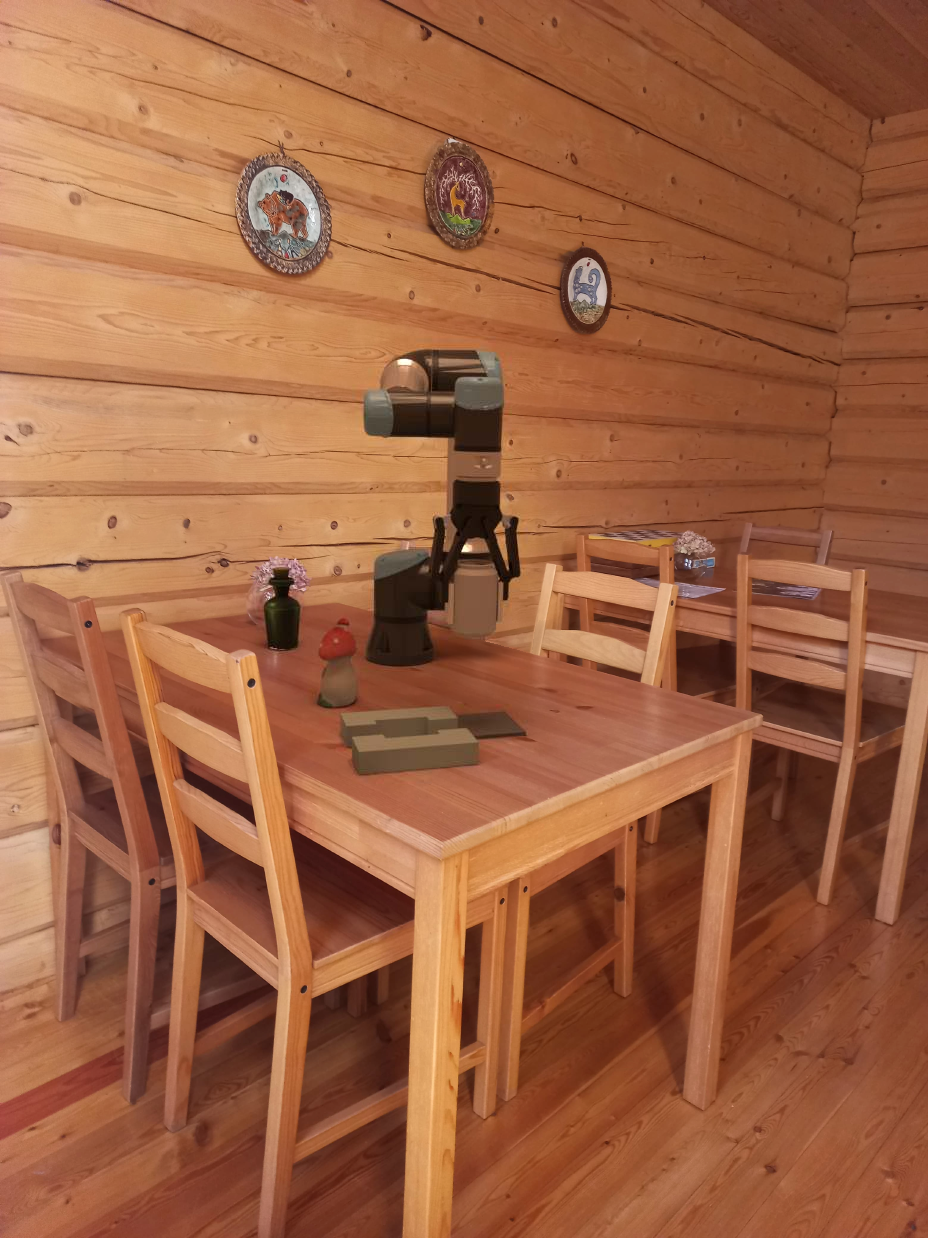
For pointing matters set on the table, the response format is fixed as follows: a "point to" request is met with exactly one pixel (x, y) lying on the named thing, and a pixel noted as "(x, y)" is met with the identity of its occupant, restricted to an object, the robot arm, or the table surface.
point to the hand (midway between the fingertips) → (473, 620)
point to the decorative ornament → (338, 667)
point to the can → (474, 598)
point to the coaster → (490, 725)
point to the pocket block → (407, 740)
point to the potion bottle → (282, 612)
